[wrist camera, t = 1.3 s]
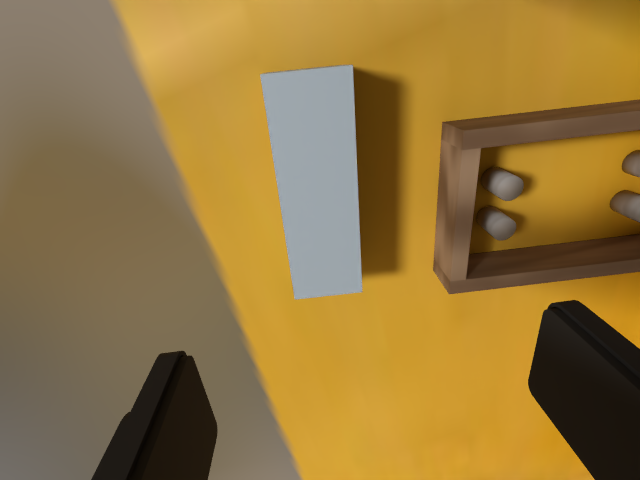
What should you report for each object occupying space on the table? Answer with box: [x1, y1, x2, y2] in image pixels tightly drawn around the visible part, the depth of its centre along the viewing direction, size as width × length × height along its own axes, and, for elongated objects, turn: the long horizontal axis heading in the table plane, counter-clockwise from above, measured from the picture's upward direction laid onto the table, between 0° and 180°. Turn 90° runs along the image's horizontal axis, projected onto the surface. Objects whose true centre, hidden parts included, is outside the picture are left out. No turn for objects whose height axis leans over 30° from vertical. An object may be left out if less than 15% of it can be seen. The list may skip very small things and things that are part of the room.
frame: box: [433, 100, 640, 294], centre depth 26 cm, size 12×19×4 cm, turn 96°
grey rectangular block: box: [260, 65, 362, 299], centre depth 24 cm, size 15×5×4 cm, turn 5°
